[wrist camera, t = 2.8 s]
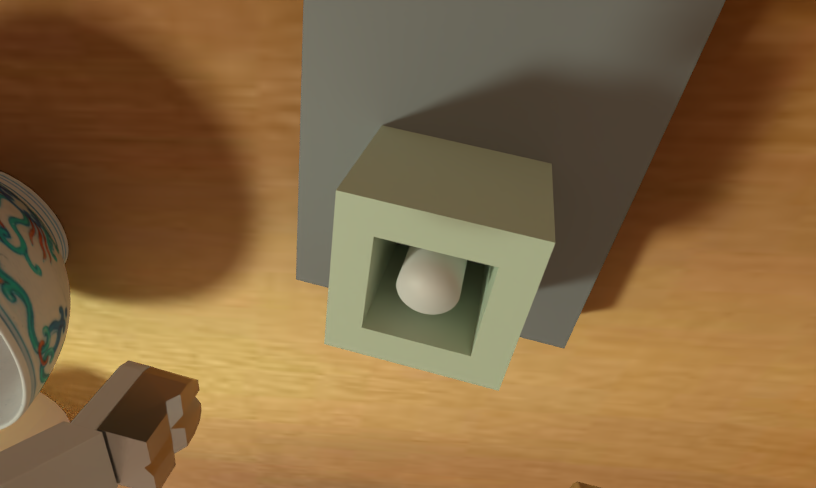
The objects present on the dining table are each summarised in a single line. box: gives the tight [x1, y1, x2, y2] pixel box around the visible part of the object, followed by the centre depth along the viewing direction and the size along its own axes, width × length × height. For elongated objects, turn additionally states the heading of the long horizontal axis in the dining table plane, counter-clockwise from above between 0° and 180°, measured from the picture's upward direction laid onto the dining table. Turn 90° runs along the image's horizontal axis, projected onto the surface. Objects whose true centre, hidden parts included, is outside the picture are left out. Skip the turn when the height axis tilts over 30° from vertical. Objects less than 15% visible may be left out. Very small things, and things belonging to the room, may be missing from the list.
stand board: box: [296, 0, 725, 348], centre depth 15 cm, size 12×22×8 cm, turn 171°
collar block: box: [324, 125, 555, 391], centre depth 17 cm, size 6×6×5 cm
